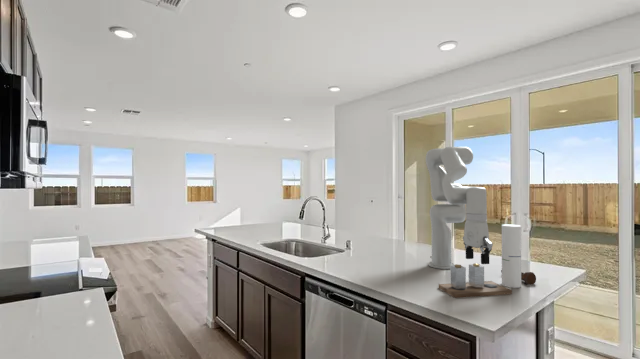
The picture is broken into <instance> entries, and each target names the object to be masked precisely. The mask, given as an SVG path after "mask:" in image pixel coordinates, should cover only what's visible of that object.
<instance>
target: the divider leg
mask: <svg viewBox="0 0 640 359" xmlns="http://www.w3.org/2000/svg"><path fill="white" fill-rule="evenodd" d="M484 281H485V265H484V266H483V265H482V264H481V265H480V264H479V263H478V262H477V263H476V262H475V263H473V264H468V282H469V285H471V286H473V287H475V288H477V287H484Z"/></svg>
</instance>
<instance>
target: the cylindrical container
mask: <svg viewBox="0 0 640 359" xmlns="http://www.w3.org/2000/svg"><path fill="white" fill-rule="evenodd" d="M501 270H502V273H501V284H502V285H501V286H504V287H506V288H515V289H517V288H521V287H522V280H521V272H522V225H520V224H510V223H509V224H508V223H507V224H501Z"/></svg>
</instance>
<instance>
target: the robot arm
mask: <svg viewBox="0 0 640 359" xmlns="http://www.w3.org/2000/svg"><path fill="white" fill-rule="evenodd" d="M473 160H474V152H473V150H472V149H471V148H470V147H468V146H447V147H444V148H442V147H441V148H440V147H439V148H432V149H429V150H427V152H426V155H425V164H426V168H427V171H428V173H429V180H430V183H429V184H430V193H431V194H430V195H431V198H432V200H433V201H434V202H439V203H437V204H433V205H432V206H431V207H430V208H429V219H430V225H431V227H430V228H431V255H430V259H431V261H429V262H428V266H429V267H430V268H433V269H437V270H451V266H453V265H455V264H454V263H452V231H451V229H450V227H449V226H448V225H447V224H460V223H464V230H463V231H464V232H463V237H462V240H463V246H464V249H465V259H467V260H473V259H474V248H475V249H479V250H480V252H481V253H480V263H481V265H489V264H490V254H491V251H492V250H493V249H492V248H493V246H494V244H493V242H492V241H491V240H490V234H489V226H488V210H487V209H488V206H487V205H488V204H487V202H488V201H487V196H488V194H487V189H486V188H485V187H482V186H463V185H461V184H460V183H457V182H456V181H458V180H460V179H462V178H464V177H465V176H466V175H467V172H468V168H467V167H466V165H470V164H471V163H472V162H473ZM442 166H443V167H442ZM454 182H456V183H454ZM441 202H442V203H441ZM443 202H445V203H443ZM446 202H447V203H446ZM448 203H449V204H448Z"/></svg>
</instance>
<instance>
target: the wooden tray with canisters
mask: <svg viewBox="0 0 640 359" xmlns="http://www.w3.org/2000/svg"><path fill="white" fill-rule="evenodd" d="M466 270H467V269H466V267H465V266H462V264H458V263H457V264H454V265H453V266H451V269H450V283H438V289H440V290H441V291H443V292H444V293H446V294H448V295H450V296H451V297H453V298H454V299H459V298H474V297H489V296H503V295H504V296H505V295H512V294H513V290H512V289H510V288H509V287H507V286H504V285H501V284H499V283H497V282H494V281H492V280H486V281H485V280H484V287H477V288H475V287H473V286H471V285H469V281H467V276H466V275H467V274H466V272H467V271H466ZM466 281H467V282H466Z"/></svg>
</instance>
